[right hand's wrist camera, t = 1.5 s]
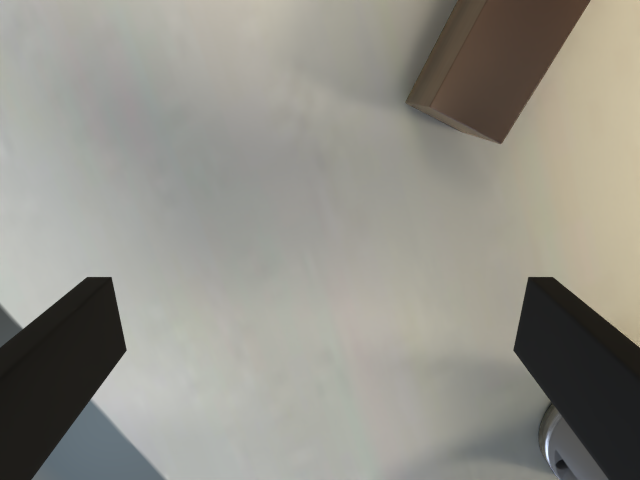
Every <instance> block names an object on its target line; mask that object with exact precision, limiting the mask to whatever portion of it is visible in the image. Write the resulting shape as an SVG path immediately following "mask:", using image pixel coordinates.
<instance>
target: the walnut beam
mask: <svg viewBox="0 0 640 480" xmlns="http://www.w3.org/2000/svg"><path fill="white" fill-rule="evenodd" d="M589 2H590V0H458V1H457V3H456V5H455V7H454V9H453V11H452V13H451V15H450V17H449V19H448V21H447V23H446V25H445V27H444V29H443V30H442V32H441V34H440V36H439V38H438V40H437V42H436V44H435V46H434V48H433V50H432V52H431V54H430V56H429V58H428V60H427V61H426V63H425V65H424V67H423V69H422V71H421V73H420V75H419V77H418V79H417V81H416V83H415V85H414V87H413V89H412V91H411V92H410V94H409V96H408V98H407V100H406V104H408V105H410V106H412V107H414V108H416V109H418V110H420V111H422V112H424V113H426V114H428V115H430V116H432V117H434V118H436V119H438V120H440V121H441V122H443V123H445V124H447V125H449V126H451V127H453V128H455V129H457V130H459V131H461V132H463V133H467V134H470V135H473V136H476V137H479V138H483V139H486V140H489V141H492V142H495V143H499V144H502V142H503V141H504V139H505V138H506V136H507V134H508V133H509V131H510V129H511V128H512V126H513V125H514V123H515V121H516V120H517V118H518V117H519V115H520V113H521V112H522V110H523V108H524V107H525V105H526V104H527V102H528V100H529V99H530V97H531V96H532V94H533V92H534V91H535V89H536V87H537V86H538V84H539V83H540V81H541V79H542V78H543V76H544V75H545V73H546V71H547V70H548V68H549V66H550V65H551V63H552V62H553V60H554V58H555V57H556V55H557V54H558V52H559V50H560V49H561V47H562V45H563V44H564V42H565V41H566V39H567V37H568V36H569V34H570V33H571V31H572V29H573V28H574V26H575V24H576V23H577V21H578V20H579V18H580V16H581V15H582V13H583V12H584V10H585V8H586V7H587V5H588V3H589Z"/></svg>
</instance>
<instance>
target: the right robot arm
mask: <svg viewBox="0 0 640 480" xmlns="http://www.w3.org/2000/svg"><path fill="white" fill-rule="evenodd" d="M126 351H127V350H126V345H125V340H124V335H123V331H122V326H121V321H120V316H119V311H118V306H117V301H116V297H115V292H114V287H113V282H112V277H87V278H86V279H84V280H83V281H82V282H81V283H79V284H78V285H77V286H76V287H74V288H73V289H72V290H71V291H70V292H68V293H67V294H66V295H65V296H63V297H62V298H61V299H60V300H58V301H57V302H56V303H55V304H54V305H52V306H51V307H50V308H49V309H47V310H46V311H45V312H44V313H42V314H41V315H40V316H39V317H38V318H36V319H35V320H34V321H33V322H31V323H30V324H29V325H28V326H26V327H25V328H24V329H23V330H22V331H20V332H19V333H18V334H17V335H15V336H14V337H13V338H12V339H10V340H9V341H8V342H7V343H6V344H4V345H3V346H2V347H1V348H0V480H31V479H32V478H33V477H34V475H35V474H36V473H37V471H38V470H39V469H40V467H41V466H42V465H43V463H44V462H45V460H46V459H47V458H48V456H49V455H50V454H51V452H52V451H53V450H54V448H55V447H56V445H57V444H58V443H59V441H60V440H61V439H62V437H63V436H64V435H65V433H66V432H67V431H68V429H69V428H70V426H71V425H72V424H73V422H74V421H75V420H76V418H77V417H78V416H79V414H80V413H81V412H82V410H83V409H84V408H85V406H86V405H87V403H88V402H89V401H90V399H91V398H92V397H93V395H94V394H95V393H96V391H97V390H98V389H99V387H100V386H101V384H102V383H103V382H104V380H105V379H106V378H107V376H108V375H109V374H110V372H111V371H112V370H113V368H114V367H115V365H116V364H117V363H118V361H119V360H120V359H121V357H122V356H123V355H124V353H125V352H126ZM513 351H514V352H515V353H516V355H517V356H518V357H519V359H520V360H521V361H522V363H523V364H524V365H525V367H526V368H527V370H528V371H529V372H530V374H531V375H532V376H533V378H534V379H535V380H536V382H537V383H538V384H539V386H540V387H541V389H542V390H543V391H544V393H545V394H546V395H547V397H548V398H549V399H550V401H551V402H552V404H551V406H550V407H549V408H548V410H547V412H546V413H545V415H544V417H543V420H542V422H541V425H540V429H539V445H540V449H541V452H542V454H543V456H544V458H545V459H546V461H547V463H548V464H549V466H550V467H551V469H552V471H553V472H554V474H555V475H556V476H557V477H558V478H559V479H560V480H640V348H639V347H638V346H637V345H636V344H634V343H633V342H632V341H631V340H630V339H628V338H627V337H626V336H625V335H623V334H622V333H621V332H620V331H618V330H617V329H616V328H615V327H614V326H612V325H611V324H610V323H609V322H607V321H606V320H605V319H604V318H602V317H601V316H600V315H599V314H598V313H596V312H595V311H594V310H593V309H591V308H590V307H589V306H588V305H586V304H585V303H584V302H583V301H582V300H580V299H579V298H578V297H577V296H575V295H574V294H573V293H572V292H570V291H569V290H568V289H567V288H566V287H564V286H563V285H562V284H561V283H559V282H558V281H557V280H556V279H554V278H553V277H528V282H527V287H526V292H525V297H524V301H523V306H522V311H521V316H520V321H519V326H518V331H517V335H516V340H515V345H514V350H513Z"/></svg>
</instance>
